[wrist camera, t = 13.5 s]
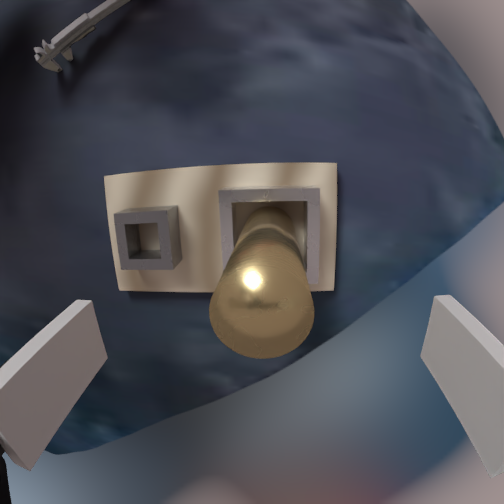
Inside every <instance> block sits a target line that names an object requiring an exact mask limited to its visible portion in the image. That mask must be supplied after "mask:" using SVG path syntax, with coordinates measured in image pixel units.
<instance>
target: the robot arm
mask: <svg viewBox="0 0 504 504" xmlns="http://www.w3.org/2000/svg"><path fill="white" fill-rule="evenodd" d="M420 357H421V358H422V360H423V361H424V363H425V364H426V366H427V368H428V369H429V371H430V372H431V374H432V375H433V377H434V379H435V380H436V382H437V383H438V385H439V387H440V388H441V390H442V391H443V393H444V395H445V397H446V398H447V400H448V401H449V403H450V405H451V407H452V408H453V410H454V411H455V413H456V415H457V417H458V419H459V420H460V422H461V424H462V425H463V427H464V429H465V431H466V433H467V435H468V436H469V438H470V440H471V442H472V444H473V445H474V447H475V449H476V451H477V453H478V455H479V457H480V459H481V461H482V463H483V464H484V466H485V468H486V471H487V472H488V475H489V476H490V478H492V477H494V476H497V475H499V474H501V473H503V472H504V345H503V344H502V343H501V342H500V341H499V340H498V339H497V338H495V336H494V335H493V334H491V332H489V330H487V329H486V328H485V327H484V326H483V325H482V324H481V323H480V322H479V321H478V320H477V319H476V318H475V317H474V316H473V315H472V314H471V313H470V312H468V311H467V310H466V309H465V308H464V307H463V306H462V305H461V304H460V303H458V301H456V300H455V299H454V298H453V297H452V296H451V295H442V296H434V300H433V305H432V310H431V315H430V319H429V324H428V328H427V332H426V336H425V340H424V344H423V348H422V352H421V355H420ZM107 358H108V357H107V354H106V351H105V347H104V344H103V341H102V337H101V334H100V330H99V326H98V323H97V319H96V315H95V311H94V307H93V303H92V300H76V301H75V302H74V303H72V304H71V305H70V306H69V307H68V308H66V309H65V310H64V311H63V312H62V313H61V314H59V315H58V316H57V317H56V318H55V319H54V320H53V321H51V322H50V323H49V324H48V325H47V326H46V327H45V328H43V329H42V330H41V331H40V332H39V333H38V334H37V335H36V336H34V337H33V338H32V339H31V340H30V341H29V342H28V343H27V344H26V345H24V346H23V347H22V348H21V349H20V350H19V351H18V352H17V353H16V354H15V355H14V356H13V357H12V358H11V359H9V360H8V361H6V362H5V363H4V364H3V365H2V366H1V367H0V504H11V498H10V492H9V485H8V477H7V469H6V463H5V460H4V459H3V457H2V454H3V453H4V452H6V453H7V454H8V456H9V457H10V458H11V459H12V461H13V462H14V463H15V464H17V465H19V466H21V467H23V468H25V469H27V470H29V471H31V469H32V468H33V466H34V465H35V463H36V461H37V460H38V458H39V457H40V455H41V454H42V452H43V451H44V449H45V448H46V446H47V444H48V443H49V441H50V440H51V438H52V437H53V435H54V434H55V432H56V431H57V429H58V428H59V426H60V425H61V423H62V422H63V421H64V419H65V418H66V416H67V415H68V413H69V412H70V410H71V409H72V407H73V406H74V405H75V403H76V402H77V400H78V399H79V397H80V396H81V395H82V393H83V392H84V390H85V389H86V387H87V386H88V385H89V383H90V382H91V380H92V379H93V378H94V376H95V375H96V373H97V372H98V371H99V369H100V368H101V367H102V365H103V364H104V362H105V361H106V360H107Z"/></svg>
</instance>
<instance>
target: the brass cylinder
mask: <svg viewBox="0 0 504 504" xmlns="http://www.w3.org/2000/svg"><path fill="white" fill-rule="evenodd" d="M209 316H210V322H211V325H212V327H213V330H214V332H215V333H216V335H217V336H218V338H219V339H220V340H221V341H222V342H223V343H224V344H225V345H226V346H227V347H229V348H230V349H232V350H233V351H235V352H237V353H239V354H241V355H244V356H248V357H252V358H262V359H263V358H274V357H278V356H281V355H284V354H286V353H289V352H290V351H292V350H294V349H295V348H297V347H298V346H299V345H300V344H301V343H302V342H303V341H304V340H305V339H306V337H307V336H308V334H309V333H310V330H311V328H312V325H313V322H314V305H313V300H312V296H311V292H310V288H309V284H308V280H307V276H306V272H305V268H304V264H303V260H302V256H301V252H300V248H299V244H298V241H297V237H296V233H295V229H294V226H293V222H292V220H291V218H290V216H289V215H288V214H287V213H286V212H285V211H283V210H282V209H280V208H278V207H274V206H265V207H261V208H259V209H257V210H255V211H254V212H253V213H252V214H251V215H250V216H249V217H248V219H247V221H246V223H245V226H244V228H243V230H242V232H241V234H240V236H239V239H238V241H237V243H236V245H235V247H234V249H233V252H232V254H231V256H230V258H229V260H228V262H227V265H226V267H225V269H224V271H223V273H222V276H221V278H220V280H219V282H218V284H217V287H216V289H215V291H214V293H213V295H212V298H211V301H210V307H209Z"/></svg>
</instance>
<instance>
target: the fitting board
mask: <svg viewBox="0 0 504 504" xmlns="http://www.w3.org/2000/svg"><path fill="white" fill-rule="evenodd" d="M104 182H105V194H106V204H107V213H108V222H109V230H110V237H111V244H112V251H113V258H114V264H115V270H116V275H117V281H118V286H119V290H120V291H156V292H214V291H215V289H216V287H217V284H218V282H219V280H220V278H221V276H222V273H223V271H224V269H225V267H226V265H227V262H228V260H229V258H230V256H231V254H232V252H233V249H234V247H235V245H236V243H237V241H238V239H239V236H240V234H241V232H242V230H243V228H244V226H245V223H246V221H247V219H248V217H249V216H250V215H251V214H252V213H253V212H254V211H255V210H257V209H259V208H261V207H265V206H274V207H278V208H280V209H282V210H283V211H285V212H286V213H287V214H288V215H289V216H290V218H291V220H292V222H293V226H294V229H295V233H296V237H297V241H298V244H299V248H300V252H301V256H302V260H303V264H304V268H305V272H306V276H307V280H308V284H309V288H310V291H334V277H335V257H336V228H337V163H255V164H231V165H213V166H198V167H184V168H173V169H162V170H152V171H142V172H133V173H125V174H117V175H109V176H104Z"/></svg>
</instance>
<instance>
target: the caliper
mask: <svg viewBox="0 0 504 504" xmlns="http://www.w3.org/2000/svg"><path fill="white" fill-rule="evenodd" d="M129 1H131V0H107V1H105V2H104V3H102V4H101V5H99V6H98V7H97V8H95V9H94V10H92V11H91V12H90V13H88V14H86V13H84V14H83V15H82V16H80V17H79V18H78V19H76V20H75V21H74V22H72V23H71V24H70V25H69V26H67V27H66V28H65V29H64V30H62V31H61V32H60V33H59V34H57V35H56V36H55V37H54V38H53V39H52V40H51V42H52V43H51V44H47V43H46V41H45V40H42V46H43V48H44V49H42V48H40V47H35V48H34V50H35V52H36V53H37V54H36V55H35V58H36V60H37V62H38V63H39V64H40V65H42V66H43V67H44V68H46V69H49V70H52V71H55V72H60V71H62V68H61V66H60V65H59V64H58V63H57V62H56V61H55V60H54V59H53V58H54V57H55V56H56V55H57V54H59V53H60V52H61V54H62V55H63V56H64V57H65V58H66V59H67V60H69V61H70V62H71V61H72V60H73V55H72V51H71V45H72V44H73V43H75V42H77V41H79V40H81V39H83V38H84V37H86V35H87V34H89V33H90V32H92V31H94V30H95V29H96V27H95V24H97V23H98V22H99V21H101V20H102V19H103V18H105V17H106V16H108V15H109V14H111V13H112V12H114V11H115V10H117V9H118V8H120V7H121V6H123V5H124V4H126V3H127V2H129Z"/></svg>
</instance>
